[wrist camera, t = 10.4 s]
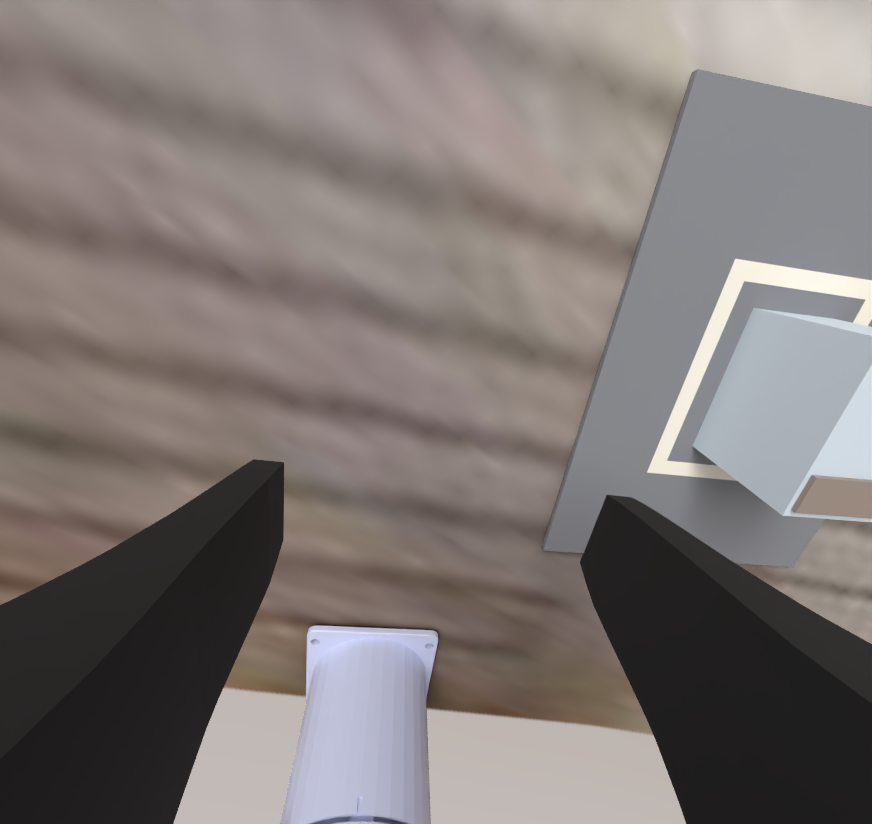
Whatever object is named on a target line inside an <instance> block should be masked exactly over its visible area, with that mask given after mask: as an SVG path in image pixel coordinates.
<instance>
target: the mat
mask: <svg viewBox="0 0 872 824" xmlns="http://www.w3.org/2000/svg"><path fill="white" fill-rule="evenodd" d="M753 308H757V309H764V310H772V311H780V312H787V313H795V314H802V315H810V316H818V317H825V318H833V319H838V320H842V321H847V322H851V323H856V324H861V325H865V326H870V327H872V107H871V106H866V105H861V104H857V103H852V102H847V101H843V100H838V99H833V98H829V97H824V96H819V95H815V94H810V93H805V92H801V91H796V90H791V89H787V88H782V87H777V86H773V85H768V84H763V83H759V82H754V81H750V80H745V79H740V78H736V77H731V76H726V75H722V74H717V73H712V72H708V71H703V70H696V71H694V72H692V75H691V78H690V81H689V84H688V88H687V91H686V94H685V97H684V100H683V103H682V106H681V110H680V113H679V116H678V119H677V122H676V125H675V128H674V132H673V135H672V138H671V141H670V144H669V147H668V151H667V154H666V157H665V160H664V163H663V166H662V169H661V173H660V176H659V179H658V182H657V185H656V188H655V192H654V195H653V198H652V201H651V204H650V207H649V210H648V214H647V217H646V220H645V223H644V226H643V229H642V233H641V236H640V239H639V242H638V245H637V248H636V251H635V255H634V258H633V261H632V264H631V267H630V270H629V273H628V277H627V280H626V283H625V286H624V289H623V292H622V296H621V299H620V302H619V305H618V308H617V311H616V314H615V318H614V321H613V324H612V327H611V330H610V333H609V337H608V340H607V343H606V346H605V349H604V352H603V355H602V359H601V362H600V365H599V368H598V371H597V374H596V377H595V381H594V384H593V387H592V390H591V393H590V396H589V400H588V403H587V406H586V409H585V412H584V415H583V418H582V422H581V425H580V428H579V431H578V434H577V437H576V441H575V444H574V447H573V450H572V453H571V456H570V459H569V463H568V466H567V469H566V472H565V475H564V478H563V482H562V485H561V488H560V491H559V494H558V497H557V500H556V504H555V507H554V510H553V513H552V516H551V519H550V522H549V526H548V529H547V532H546V535H545V538H544V541H543V545H542V549H543V551H557V552H572V553H584V551H585V548H586V546H587V543H588V541H589V538H590V536H591V533H592V531H593V528H594V526H595V523H596V521H597V518H598V516H599V513H600V510H601V508H602V505H603V503H604V500H605V498H606V495H615V496H625V497H632V498H634V499H636V500H638V501H640V502H641V503H643V504H645V505H647V506H648V507H650V508H652V509H653V510H655V511H656V512H658V513H660V514H661V515H663V516H664V517H666V518H667V519H669V520H671V521H672V522H674V523H675V524H677V525H678V526H680V527H681V528H683V529H684V530H686V531H687V532H689V533H690V534H692V535H693V536H695V537H696V538H698V539H699V540H701V541H702V542H704V543H705V544H707V545H708V546H710V547H711V548H713V549H714V550H716V551H717V552H719V553H720V554H722V555H723V556H725V557H726V558H728V559H729V560H731V561H732V562H734V563H739V564H754V565H769V566H784V567H794V565H795V564H796V562H797V561H798V559H799V558H800V556H801V555H802V553H803V552H804V550H805V549H806V547H807V546H808V544H809V542H810V541H811V539H812V538H813V536H814V535H815V533H816V532H817V530H818V529H819V527H820V526H821V524H822V523H823V521H824V520H825V519H823V518H808V517H794V516H782V515H781V514H780V513H778V512H777V511H776V510H774V509H773V508H772V507H771V506H769V505H768V504H767V503H765V502H764V501H763V500H762V499H760V498H759V497H758V496H756V495H755V494H754V493H752V492H751V491H750V490H749V489H747V488H746V487H745V486H743V485H742V484H741V483H740V482H738V481H737V480H736V479H734V478H733V477H732V476H730V475H729V474H728V473H727V472H725V471H724V470H723V469H721V468H720V467H719V466H718V465H716V464H715V463H714V462H712V461H711V460H710V459H709V458H707V457H706V456H705V455H703V454H702V453H701V452H699V451H698V450H697V449H696V448H694V447H693V444H694V442H695V439H696V437H697V435H698V432H699V430H700V428H701V426H702V423H703V421H704V419H705V417H706V414H707V412H708V410H709V408H710V405H711V403H712V401H713V398H714V396H715V394H716V392H717V389H718V387H719V385H720V383H721V380H722V378H723V376H724V374H725V371H726V369H727V367H728V364H729V362H730V360H731V358H732V355H733V353H734V351H735V349H736V346H737V344H738V342H739V339H740V337H741V335H742V333H743V330H744V328H745V326H746V324H747V321H748V319H749V317H750V315H751V312H752V310H753Z"/></svg>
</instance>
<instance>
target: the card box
mask: <svg viewBox="0 0 872 824" xmlns="http://www.w3.org/2000/svg"><path fill="white" fill-rule="evenodd" d="M693 447H694V448H696V449H697V450H698V451H699V452H701V453H702V454H703V455H705V456H706V457H707V458H709V459H710V460H711V461H712V462H714V463H715V464H716V465H718V466H719V467H720V468H721V469H723V470H724V471H725V472H727V473H728V474H729V475H730V476H732V477H733V478H734V479H736V480H737V481H738V482H740V483H741V484H742V485H743V486H745V487H746V488H747V489H749V490H750V491H751V492H752V493H754V494H755V495H756V496H758V497H759V498H760V499H762V500H763V501H764V502H765V503H767V504H768V505H769V506H771V507H772V508H773V509H774V510H776V511H777V512H778V513H780V514H781V515H782V516H794V517H808V518H823V519H837V520H851V521H865V522H872V327H870V326H865V325H861V324H856V323H851V322H847V321H842V320H838V319H833V318H825V317H818V316H810V315H802V314H795V313H787V312H780V311H772V310H764V309H757V308H753V310H752V312H751V315H750V317H749V319H748V321H747V324H746V326H745V328H744V330H743V333H742V335H741V337H740V339H739V342H738V344H737V346H736V349H735V351H734V353H733V355H732V358H731V360H730V362H729V364H728V367H727V369H726V371H725V374H724V376H723V378H722V380H721V383H720V385H719V387H718V389H717V392H716V394H715V396H714V398H713V401H712V403H711V405H710V408H709V410H708V412H707V414H706V417H705V419H704V421H703V423H702V426H701V428H700V430H699V432H698V435H697V437H696V439H695V442H694V444H693Z"/></svg>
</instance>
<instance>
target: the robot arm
mask: <svg viewBox="0 0 872 824" xmlns="http://www.w3.org/2000/svg"><path fill="white" fill-rule="evenodd" d="M283 521H284V462H274V461H264V460H252V461H250V462H249V463H247V464H246V465H244V466H243V467H241V468H240V469H238V470H236V471H235V472H234V473H232V474H231V475H229V476H228V477H226V478H225V479H223V480H222V481H220V482H219V483H217V484H216V485H214V486H213V487H211V488H210V489H208V490H207V491H205V492H204V493H202V494H200V495H199V496H197V497H196V498H194V499H193V500H191V501H190V502H188V503H187V504H185V505H184V506H182V507H180V508H179V509H177V510H176V511H174V512H173V513H171V514H169V515H168V516H166V517H164V518H163V519H161V520H159V521H158V522H156V523H154V524H153V525H151V526H149V527H148V528H146V529H144V530H142V531H141V532H139V533H137V534H136V535H134V536H132V537H131V538H129V539H127V540H126V541H124V542H122V543H120V544H119V545H117V546H115V547H114V548H112V549H110V550H108V551H107V552H105V553H103V554H101V555H99V556H97V557H96V558H94V559H92V560H90V561H88V562H86V563H84V564H82V565H81V566H79V567H77V568H75V569H73V570H71V571H69V572H67V573H65V574H63V575H61V576H59V577H57V578H55V579H53V580H51V581H49V582H47V583H45V584H43V585H41V586H39V587H37V588H35V589H33V590H31V591H29V592H27V593H25V594H23V595H21V596H19V597H17V598H15V599H13V600H11V601H8V602H6V603H4V604H2V605H0V824H173V822H174V819H175V816H176V813H177V811H178V807H179V804H180V801H181V799H182V796H183V793H184V790H185V787H186V785H187V782H188V779H189V776H190V773H191V770H192V767H193V764H194V762H195V759H196V756H197V753H198V750H199V747H200V745H201V742H202V739H203V736H204V733H205V731H206V727H207V725H208V723H209V720H210V718H211V716H212V713H213V711H214V708H215V705H216V703H217V701H218V698H219V696H220V694H221V692H222V689H223V687H224V685H225V683H226V681H227V678H228V676H229V674H230V672H231V669H232V667H233V665H234V663H235V660H236V658H237V656H238V654H239V652H240V649H241V647H242V645H243V643H244V640H245V638H246V636H247V634H248V631H249V629H250V627H251V625H252V623H253V620H254V618H255V616H256V613H257V611H258V609H259V607H260V604H261V602H262V600H263V598H264V595H265V593H266V591H267V588H268V586H269V584H270V581H271V577H272V574H273V571H274V568H275V565H276V562H277V559H278V555H279V552H280V549H281V545H282V542H283ZM580 564H581V567H582V571H583V574H584V577H585V581H586V584H587V587H588V590H589V593H590V596H591V599H592V602H593V605H594V607H595V609H596V612H597V614H598V616H599V618H600V620H601V623H602V625H603V627H604V629H605V631H606V633H607V636H608V638H609V640H610V642H611V644H612V646H613V648H614V650H615V653H616V655H617V657H618V659H619V661H620V663H621V665H622V667H623V669H624V671H625V674H626V676H627V678H628V680H629V682H630V684H631V686H632V688H633V690H634V693H635V695H636V697H637V699H638V701H639V703H640V705H641V707H642V709H643V712H644V714H645V716H646V718H647V721H648V723H649V725H650V728H651V730H652V732H653V735H654V737H655V739H656V742H657V744H658V747H659V750H660V753H661V755H662V758H663V761H664V763H665V766H666V769H667V771H668V774H669V777H670V779H671V782H672V785H673V787H674V790H675V793H676V795H677V798H678V801H679V803H680V806H681V809H682V812H683V815H684V818H685V821H686V824H872V644H870V643H868V642H867V641H865V640H863V639H861V638H859V637H858V636H856V635H854V634H852V633H850V632H849V631H847V630H845V629H843V628H841V627H839V626H838V625H836V624H834V623H832V622H830V621H829V620H827V619H825V618H823V617H822V616H820V615H818V614H816V613H815V612H813V611H811V610H810V609H808V608H806V607H804V606H803V605H801V604H799V603H798V602H796V601H795V600H793V599H791V598H790V597H788V596H786V595H785V594H783V593H782V592H780V591H778V590H777V589H775V588H773V587H772V586H770V585H769V584H767V583H765V582H764V581H762V580H760V579H759V578H757V577H756V576H754V575H753V574H751V573H749V572H748V571H746V570H745V569H743V568H742V567H740V566H739V565H737V564H736V563H734V562H732V561H731V560H729V559H728V558H726V557H725V556H723V555H722V554H720V553H719V552H717V551H716V550H714V549H713V548H711V547H710V546H708V545H707V544H705V543H704V542H702V541H701V540H699V539H698V538H696V537H695V536H693V535H692V534H690V533H689V532H687V531H686V530H684V529H683V528H681V527H680V526H678V525H677V524H675V523H674V522H672V521H671V520H669V519H667V518H666V517H664V516H663V515H661V514H660V513H658V512H656V511H655V510H653V509H652V508H650V507H648V506H647V505H645V504H643V503H641V502H640V501H638V500H636V499H634V498H632V497H625V496H615V495H606V498H605V500H604V503H603V505H602V508H601V510H600V513H599V516H598V518H597V521H596V523H595V526H594V528H593V531H592V533H591V536H590V538H589V541H588V543H587V546H586V548H585V551H584V553H583V556H582V558H581V561H580ZM437 644H438V634H437V632H435V631H433V630H415V629H391V628H367V627H343V626H319V625H316V626H312V627H310V628H309V630H308V634H307V671H306V707H305V711H304V716H303V721H302V725H301V730H300V735H299V739H298V744H297V748H296V753H295V758H294V762H293V767H292V772H291V776H290V781H289V786H288V790H287V795H286V800H285V805H284V809H283V813H282V818H281V823H280V824H431V820H430V793H429V766H428V738H427V710H426V697H427V692H428V687H429V682H430V678H431V673H432V668H433V663H434V659H435V654H436V649H437Z"/></svg>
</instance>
